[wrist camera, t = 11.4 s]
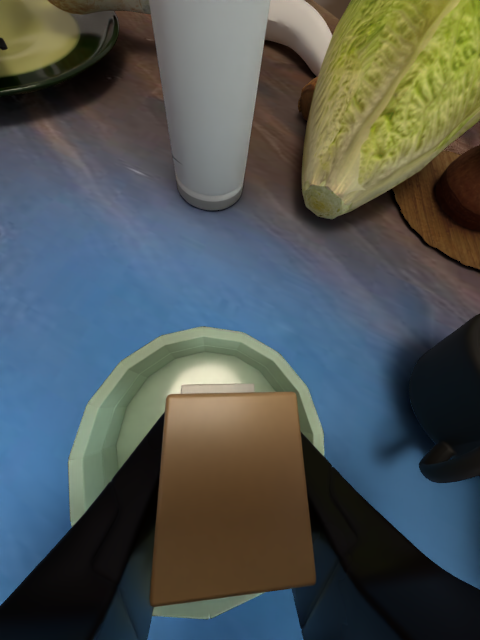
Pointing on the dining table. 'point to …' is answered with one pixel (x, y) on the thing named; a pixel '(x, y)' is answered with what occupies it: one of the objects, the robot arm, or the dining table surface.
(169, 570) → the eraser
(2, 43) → the pistol
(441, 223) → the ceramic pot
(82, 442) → the celadon bowl
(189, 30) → the travel mug
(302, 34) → the banana
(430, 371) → the mug
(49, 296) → the dining table surface
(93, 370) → the dining table surface
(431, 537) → the dining table surface
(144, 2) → the oil lamp
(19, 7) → the plate
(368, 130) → the lettuce
